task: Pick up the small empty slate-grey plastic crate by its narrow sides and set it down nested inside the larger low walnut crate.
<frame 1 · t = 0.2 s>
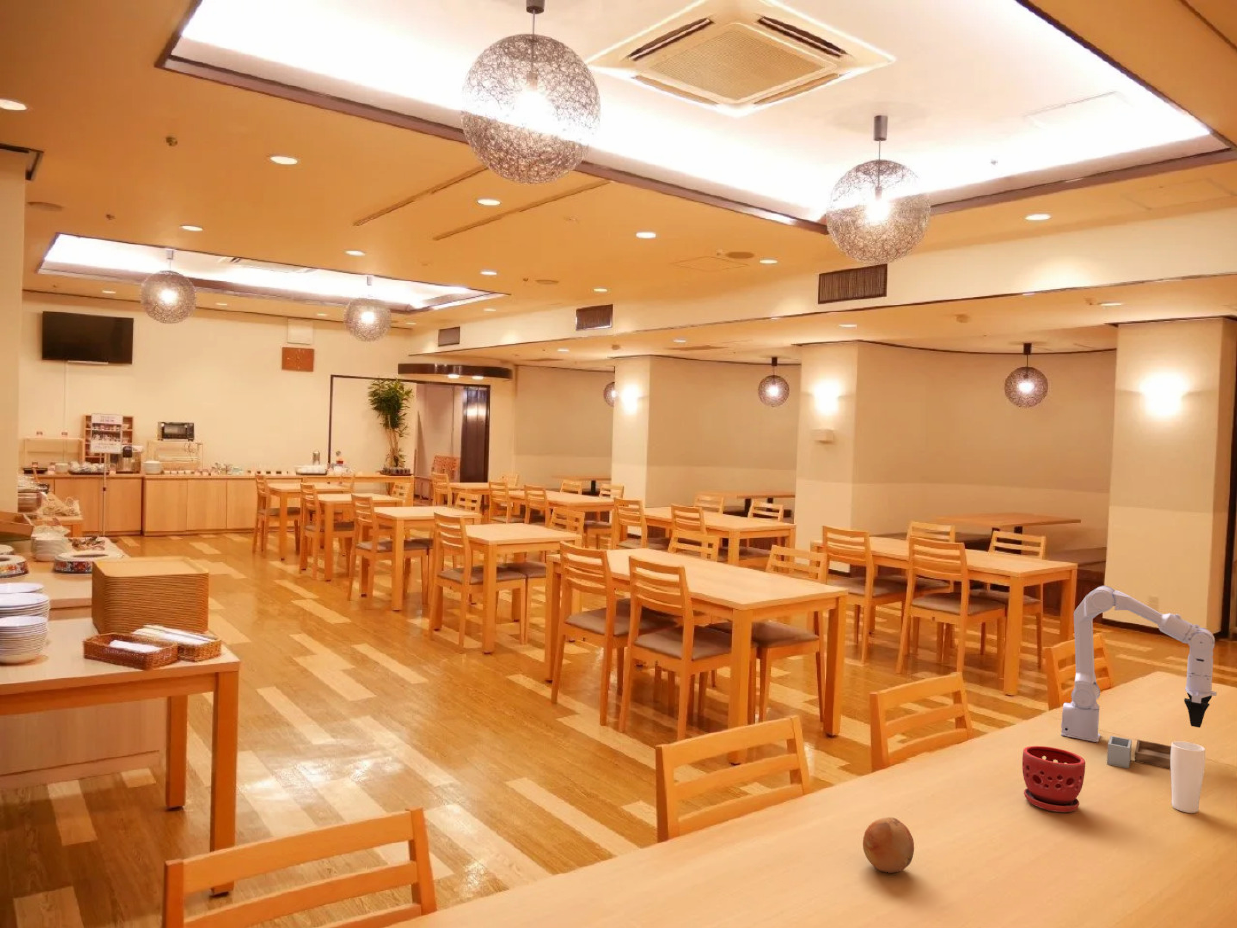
hand: (1196, 723, 233), 10 cm above the table, fingers open, 7 cm apart
small crate: (1118, 761, 230), on the table
onion: (887, 870, 168), on the table
walnut crate: (1155, 758, 233), on the table
white cup: (1184, 809, 201), on the table
plant pot: (1051, 804, 201), on the table
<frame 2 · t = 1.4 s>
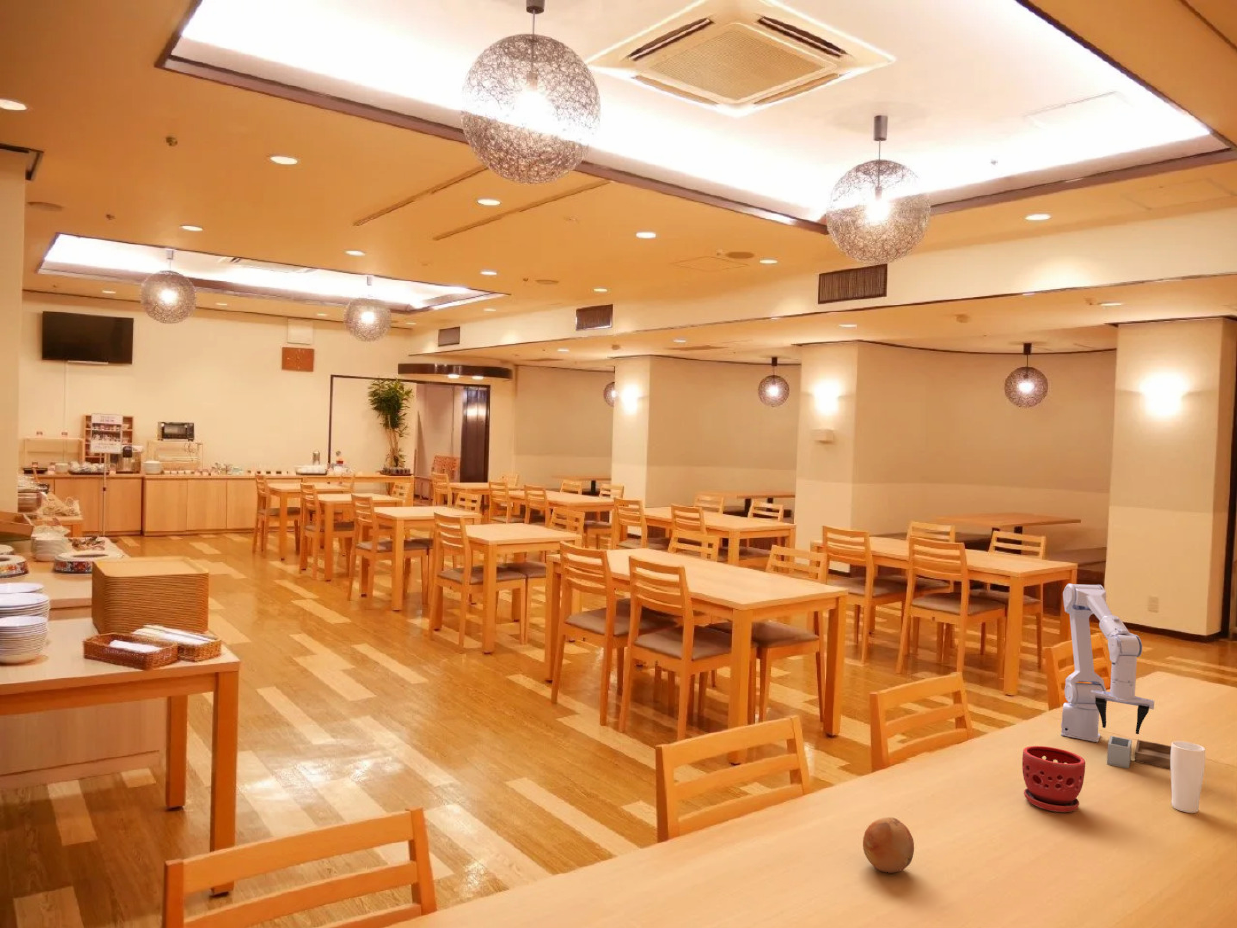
hand: (1120, 729, 230), 9 cm above the table, fingers open, 7 cm apart
nothing on the table moved.
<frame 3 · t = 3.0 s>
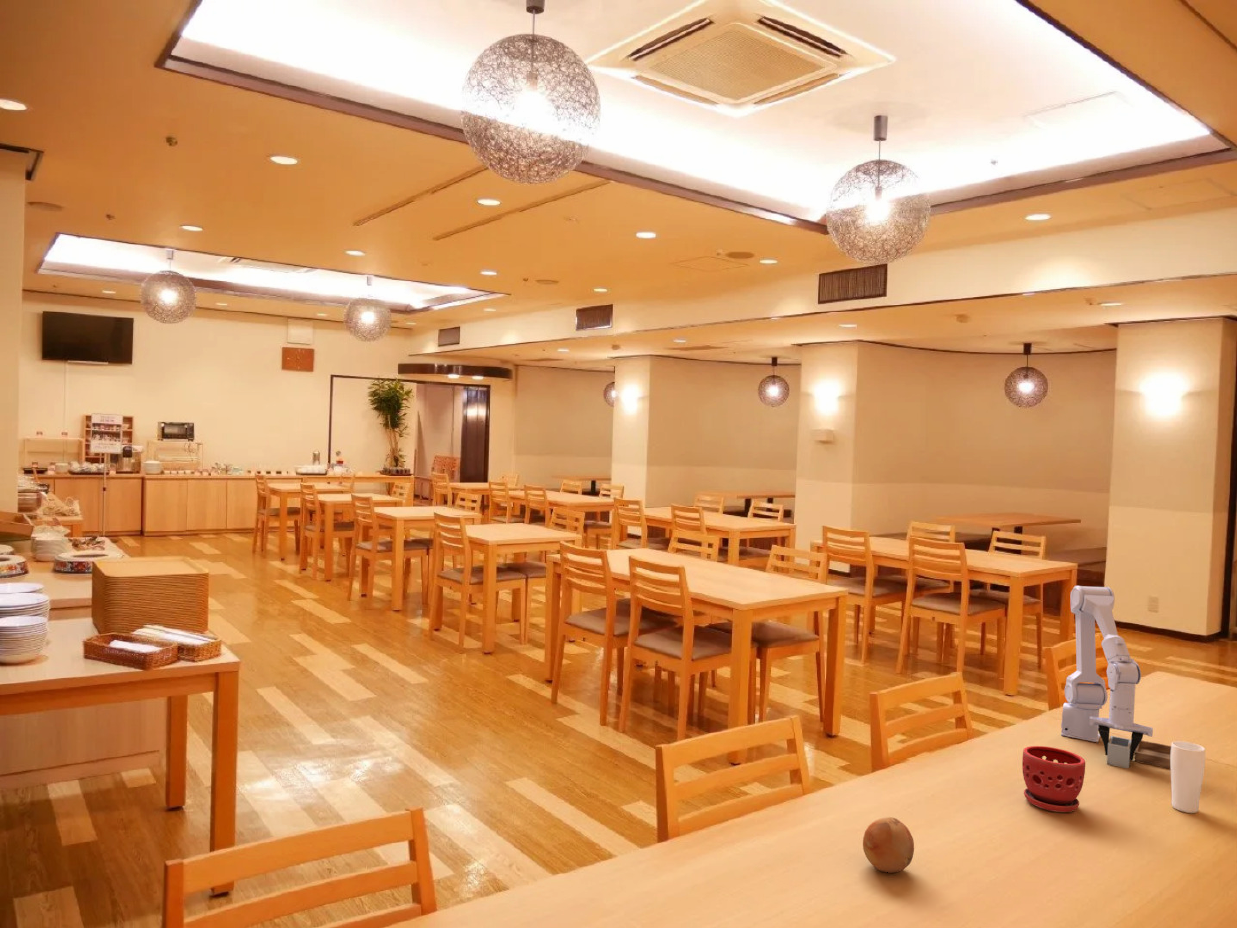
hand: (1119, 756, 230), 1 cm above the table, fingers closed on small crate, 5 cm apart
small crate: (1118, 761, 230), on the table, touching gripper
everything else where it was.
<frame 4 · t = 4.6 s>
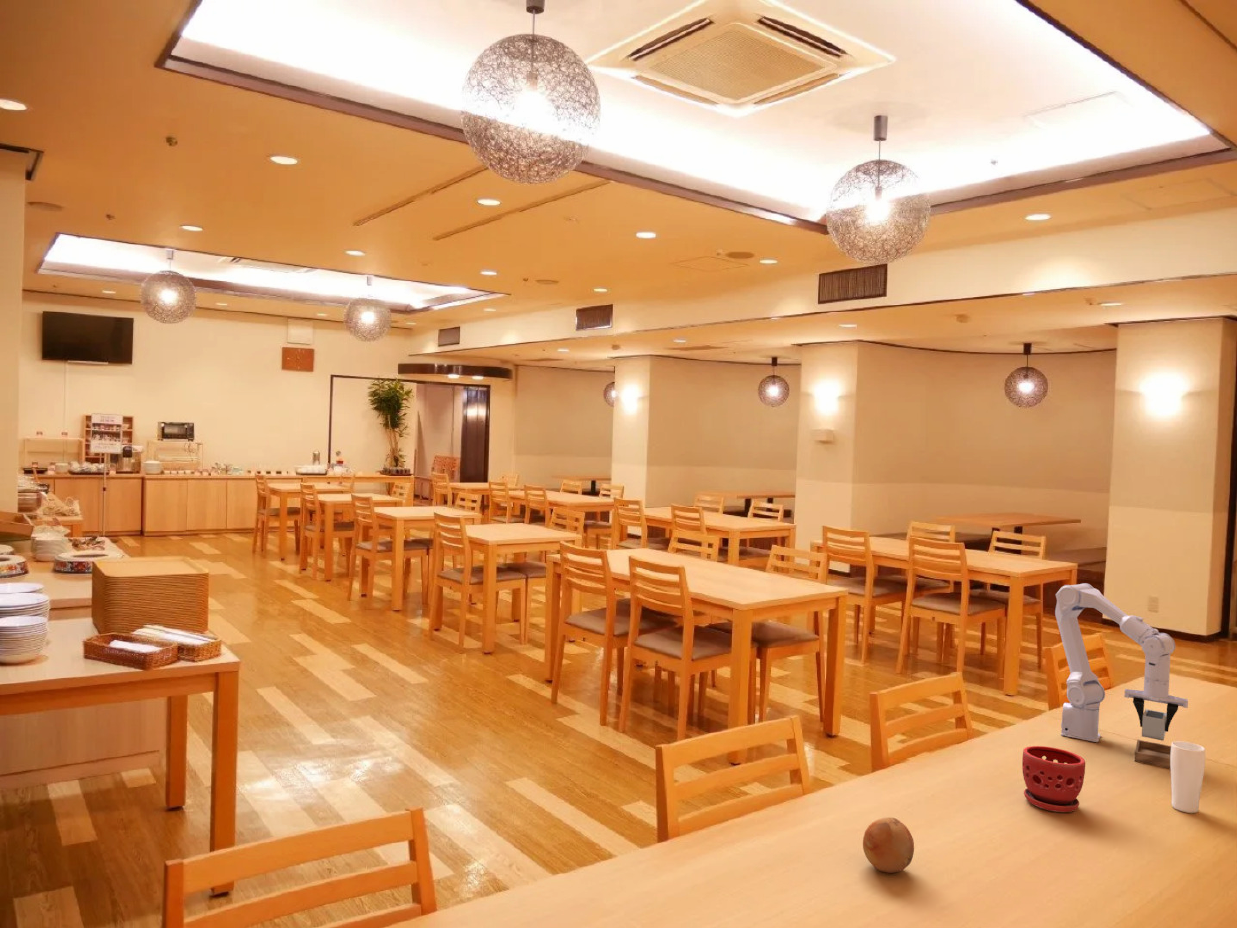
hand: (1154, 728, 233), 8 cm above the table, fingers closed on small crate, 5 cm apart
small crate: (1153, 734, 233), point 7 cm above the table, touching gripper
everything else where it was.
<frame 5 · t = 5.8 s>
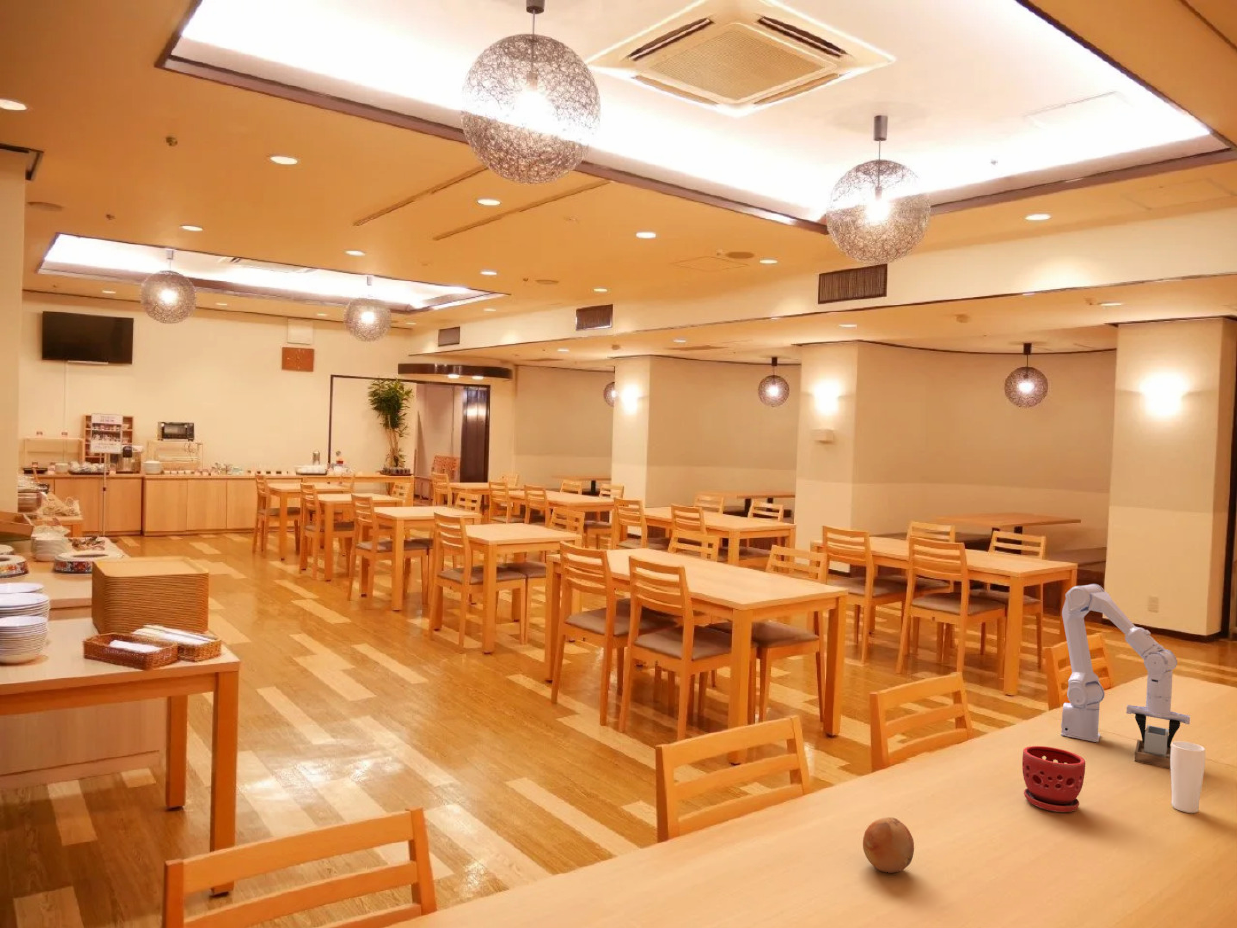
hand: (1156, 744, 233), 4 cm above the table, fingers closed on small crate, 5 cm apart
small crate: (1155, 750, 233), point 2 cm above the table, touching gripper
everything else where it was.
when the fingers open (4 cm above the table, at t = 6.5 s): small crate drops 2 cm, resting on walnut crate.
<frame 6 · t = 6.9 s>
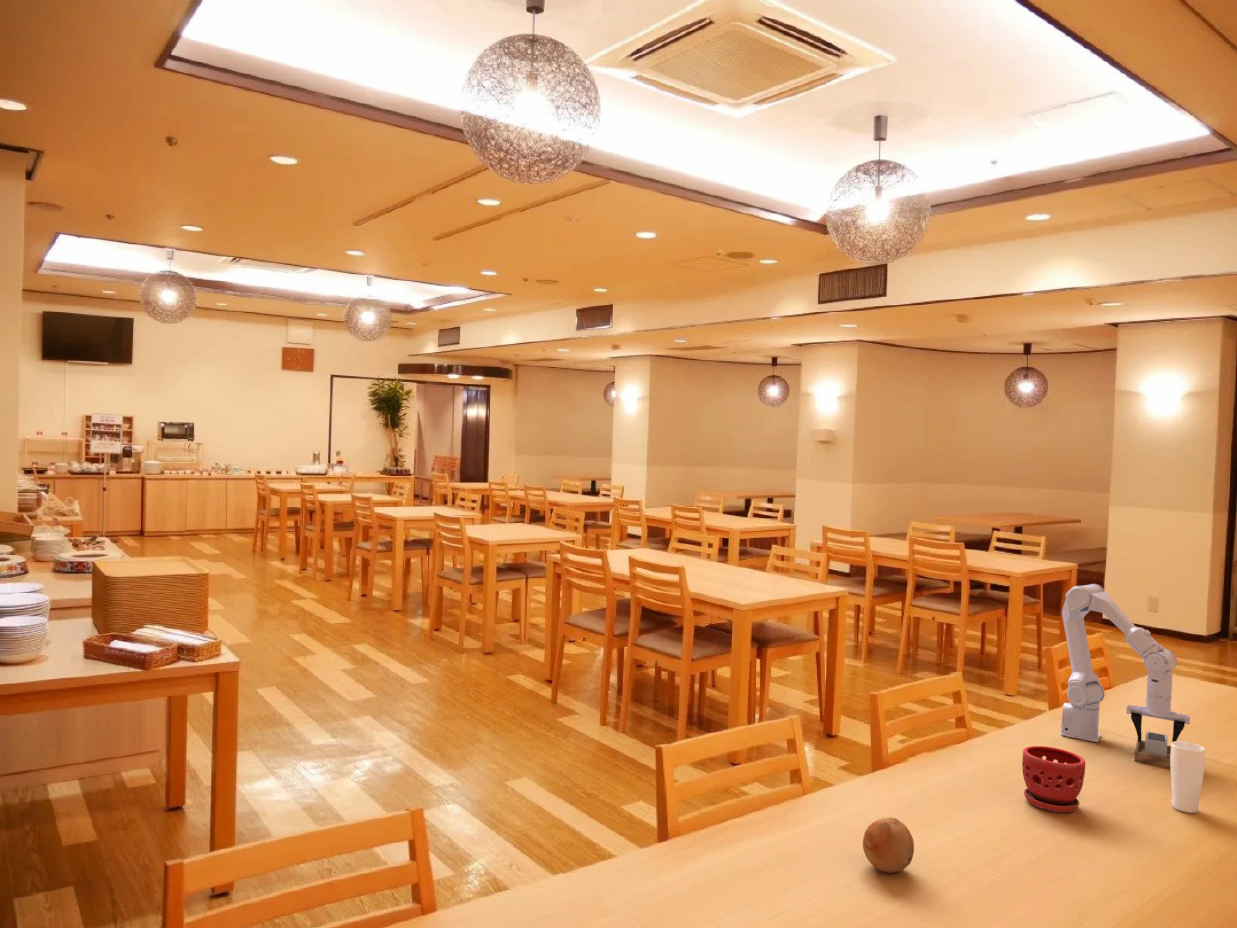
hand: (1156, 744, 233), 4 cm above the table, fingers open, 7 cm apart
small crate: (1155, 756, 233), resting on walnut crate
everything else where it was.
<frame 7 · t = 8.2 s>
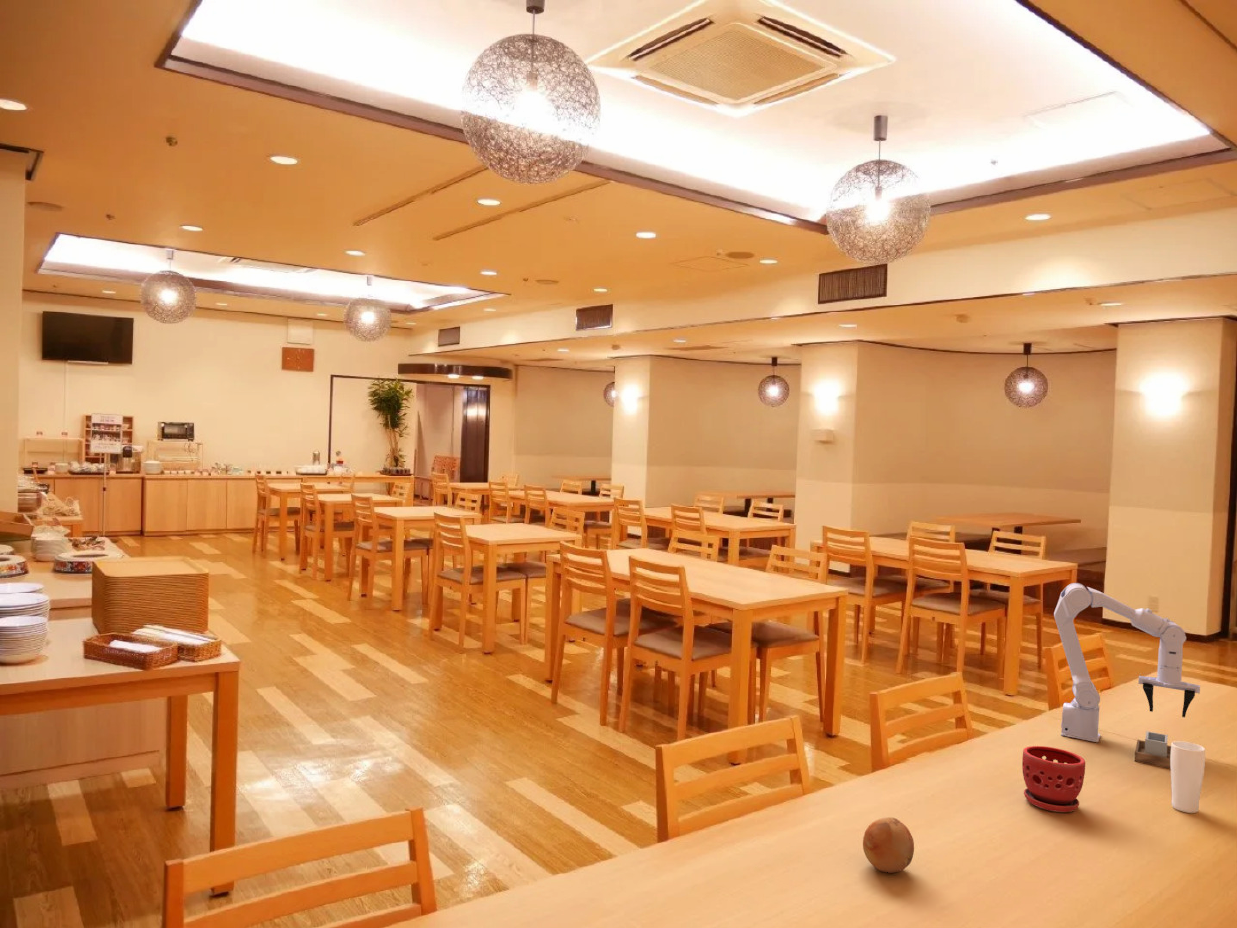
hand: (1167, 713, 241), 10 cm above the table, fingers open, 7 cm apart
nothing on the table moved.
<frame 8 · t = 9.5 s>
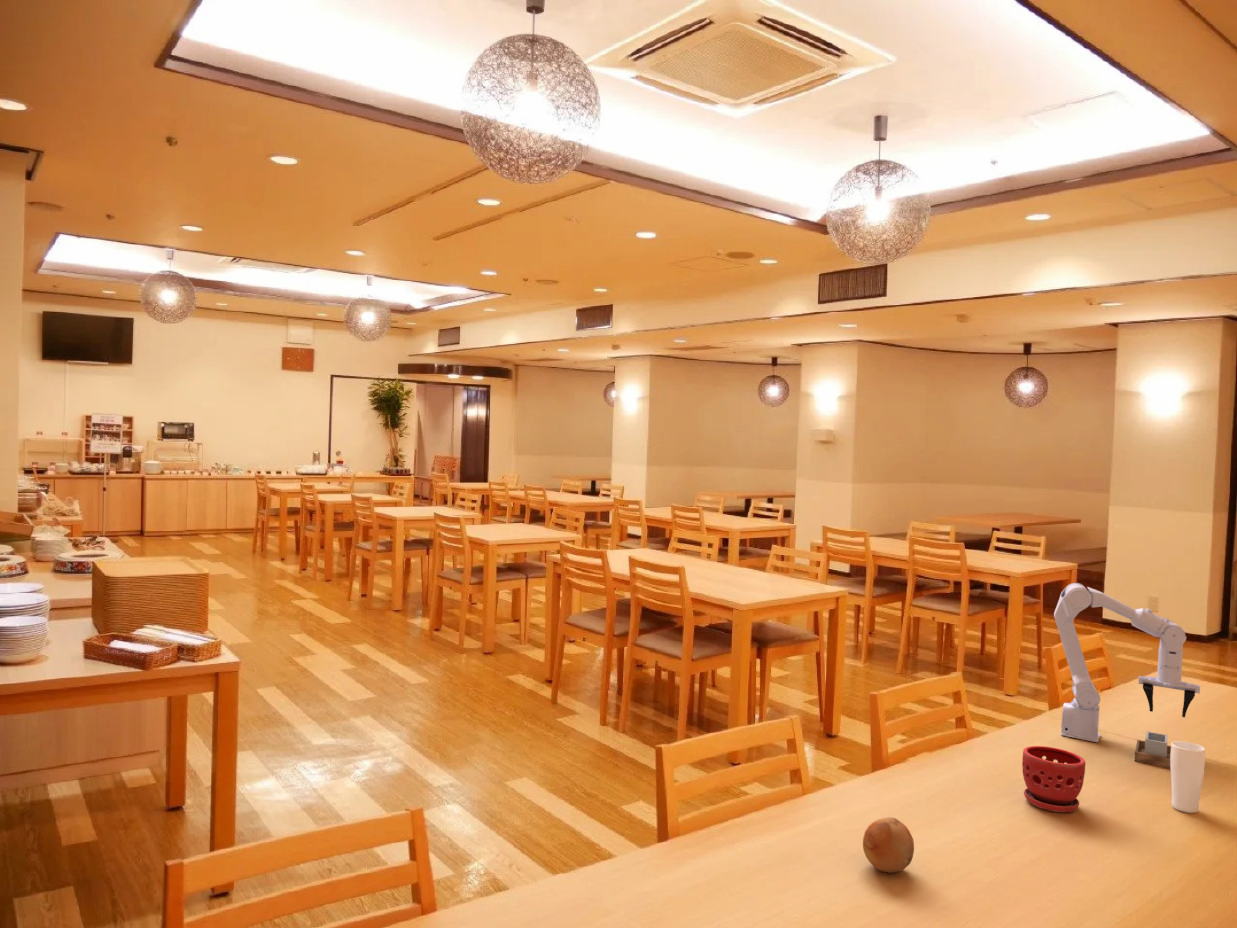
hand: (1167, 713, 241), 10 cm above the table, fingers open, 7 cm apart
nothing on the table moved.
at the end: small crate 0.3 cm off-centre on the walnut crate, point 0.5 cm above the walnut crate's base; small crate tilted 0°; the gripper is holding nothing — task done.
